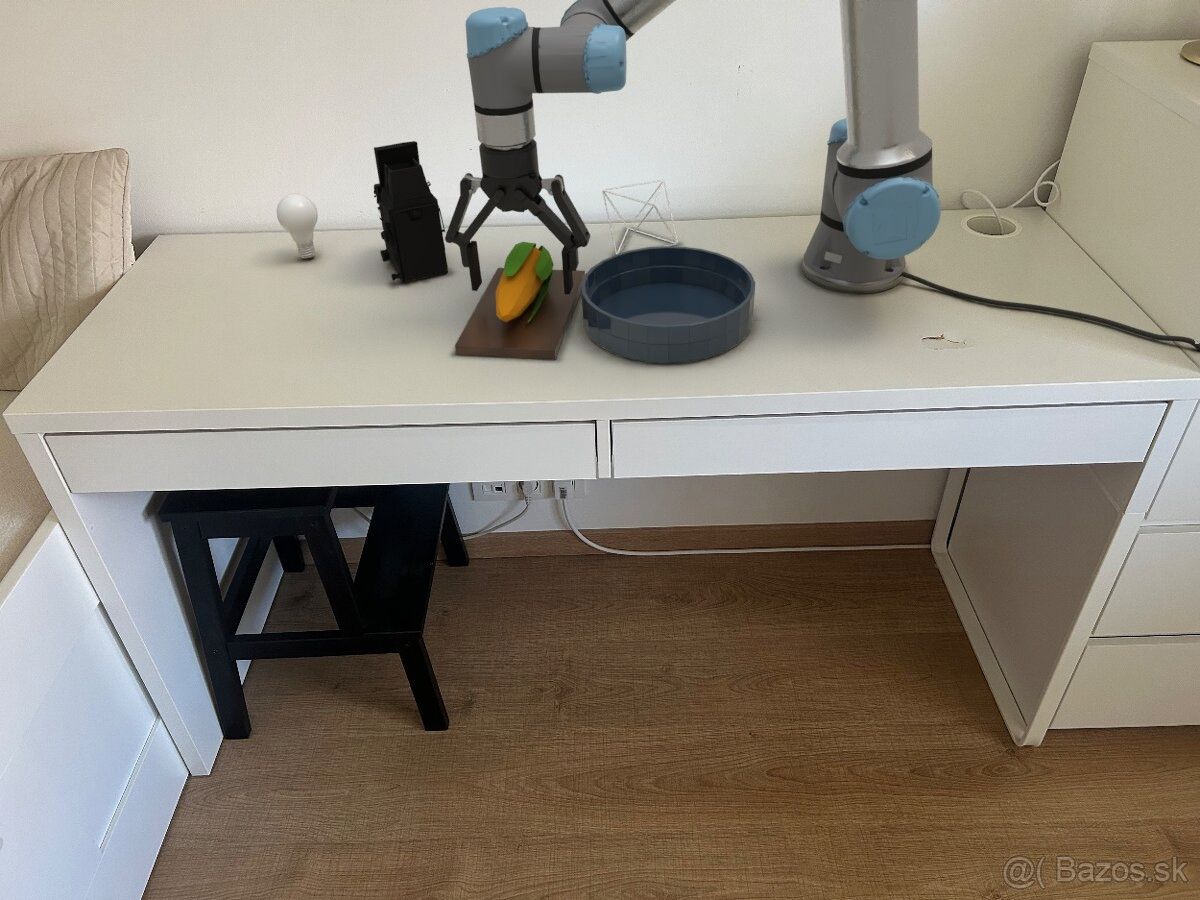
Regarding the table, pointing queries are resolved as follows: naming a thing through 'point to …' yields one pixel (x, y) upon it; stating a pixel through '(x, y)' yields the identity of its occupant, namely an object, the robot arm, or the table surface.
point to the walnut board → (521, 323)
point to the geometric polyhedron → (639, 213)
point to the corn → (523, 280)
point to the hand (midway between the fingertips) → (522, 288)
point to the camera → (408, 214)
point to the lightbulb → (299, 221)
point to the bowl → (667, 304)
